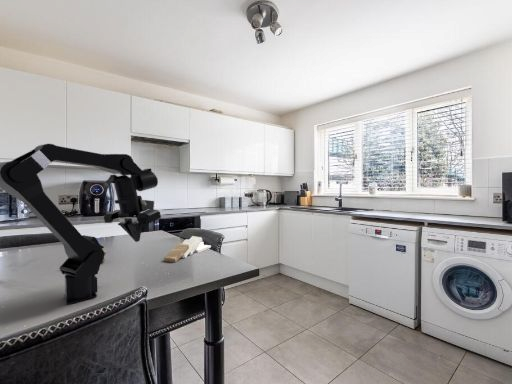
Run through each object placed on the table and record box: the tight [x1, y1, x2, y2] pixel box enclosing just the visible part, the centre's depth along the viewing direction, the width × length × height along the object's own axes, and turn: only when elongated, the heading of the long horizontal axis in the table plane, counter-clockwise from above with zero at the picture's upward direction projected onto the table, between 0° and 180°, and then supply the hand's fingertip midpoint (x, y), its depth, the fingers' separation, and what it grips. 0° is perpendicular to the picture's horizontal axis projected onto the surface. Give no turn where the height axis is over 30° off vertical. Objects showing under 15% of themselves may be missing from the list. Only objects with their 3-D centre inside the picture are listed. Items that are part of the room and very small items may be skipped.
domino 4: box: [195, 241, 205, 250], centre depth 118 cm, size 2×5×10 cm
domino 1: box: [163, 243, 189, 263], centre depth 103 cm, size 2×5×10 cm
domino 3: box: [188, 235, 203, 256], centre depth 113 cm, size 2×5×10 cm
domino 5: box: [193, 244, 212, 253], centre depth 119 cm, size 2×5×10 cm
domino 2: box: [179, 238, 196, 259], centre depth 109 cm, size 2×5×10 cm
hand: (137, 241), depth 83 cm, fingers closed
